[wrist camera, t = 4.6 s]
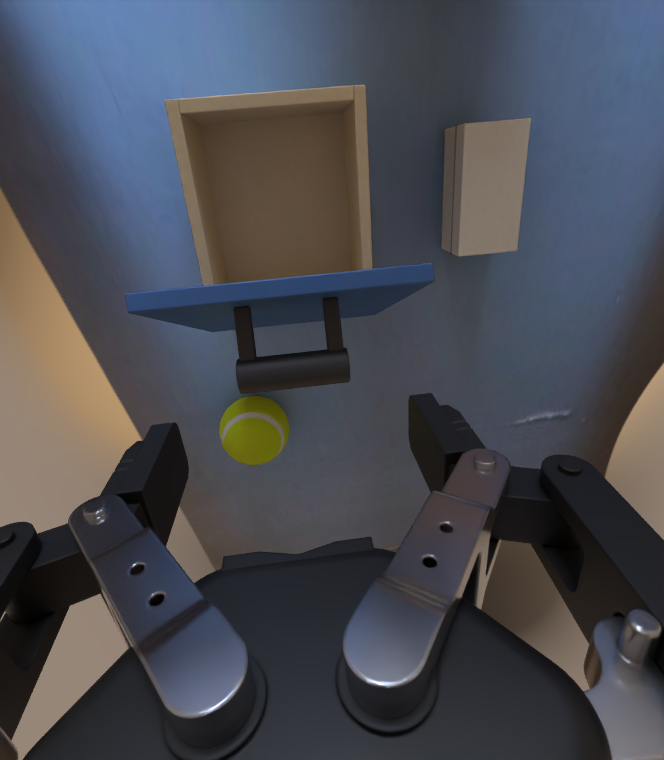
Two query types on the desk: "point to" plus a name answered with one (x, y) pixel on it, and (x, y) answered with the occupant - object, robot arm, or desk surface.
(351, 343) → the desk surface
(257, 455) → the tennis ball
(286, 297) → the blue lid
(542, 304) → the desk surface
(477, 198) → the beige case
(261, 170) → the storage box
